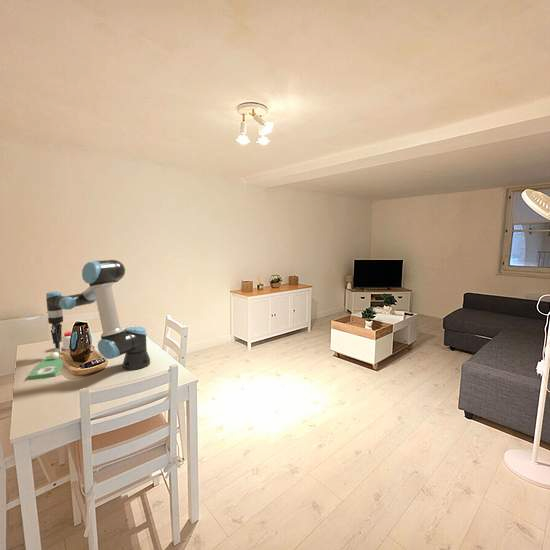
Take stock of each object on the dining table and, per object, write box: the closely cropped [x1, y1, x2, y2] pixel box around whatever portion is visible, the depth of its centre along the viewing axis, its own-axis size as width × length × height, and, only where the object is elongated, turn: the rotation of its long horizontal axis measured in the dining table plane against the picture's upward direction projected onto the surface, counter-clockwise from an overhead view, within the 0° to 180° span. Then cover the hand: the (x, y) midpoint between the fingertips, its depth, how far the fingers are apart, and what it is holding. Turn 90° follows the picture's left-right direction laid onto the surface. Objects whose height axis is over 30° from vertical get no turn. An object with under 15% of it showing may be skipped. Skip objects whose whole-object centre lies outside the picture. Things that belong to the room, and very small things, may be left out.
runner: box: [28, 355, 64, 381], centre depth 177 cm, size 12×28×2 cm, turn 21°
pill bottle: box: [62, 331, 72, 350], centre depth 207 cm, size 8×8×11 cm
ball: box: [50, 351, 60, 359], centre depth 184 cm, size 4×4×4 cm
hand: (58, 352), depth 190 cm, fingers closed
